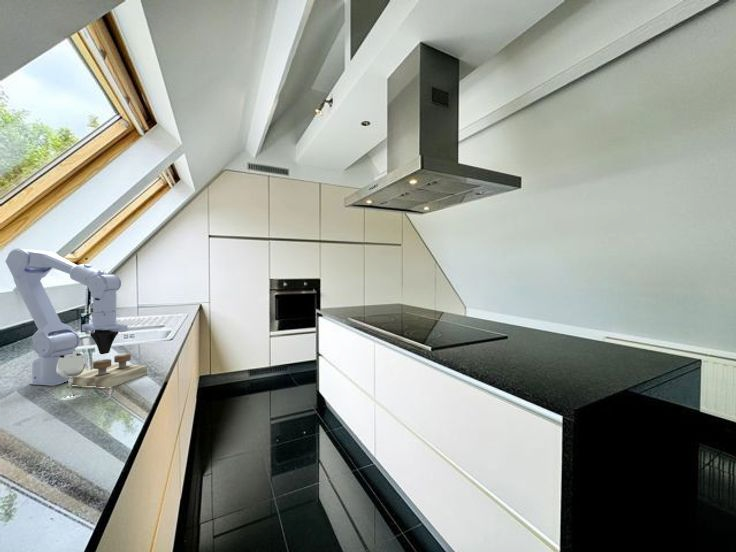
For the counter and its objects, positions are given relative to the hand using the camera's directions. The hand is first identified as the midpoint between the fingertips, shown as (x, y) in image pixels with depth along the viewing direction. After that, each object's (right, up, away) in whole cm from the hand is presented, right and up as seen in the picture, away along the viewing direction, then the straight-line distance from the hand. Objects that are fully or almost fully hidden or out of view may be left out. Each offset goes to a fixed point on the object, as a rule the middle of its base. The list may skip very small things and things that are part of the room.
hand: (104, 353), depth 98 cm
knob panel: (0, -9, +3) cm, 10 cm away
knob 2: (+1, -7, +6) cm, 9 cm away
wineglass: (+1, -10, -12) cm, 15 cm away
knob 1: (0, -7, -1) cm, 7 cm away
